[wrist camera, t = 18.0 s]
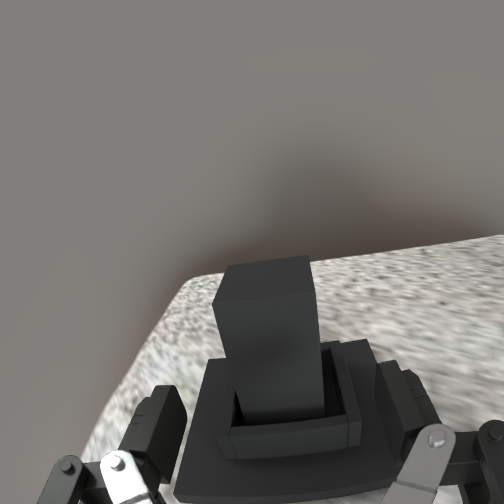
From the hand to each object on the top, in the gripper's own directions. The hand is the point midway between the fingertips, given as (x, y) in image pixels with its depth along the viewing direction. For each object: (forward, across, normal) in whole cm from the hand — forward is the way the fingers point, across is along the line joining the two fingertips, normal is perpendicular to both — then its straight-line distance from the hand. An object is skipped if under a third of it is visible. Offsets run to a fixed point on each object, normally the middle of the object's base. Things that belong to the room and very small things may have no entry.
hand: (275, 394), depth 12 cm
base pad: (+6, 0, +9) cm, 11 cm away
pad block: (+7, 0, +8) cm, 10 cm away
